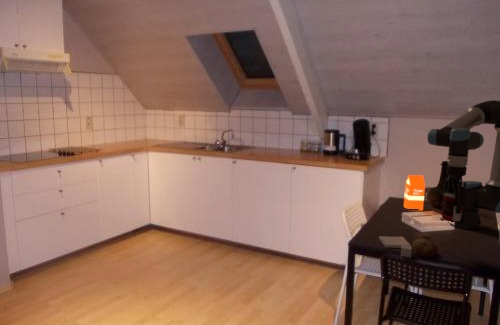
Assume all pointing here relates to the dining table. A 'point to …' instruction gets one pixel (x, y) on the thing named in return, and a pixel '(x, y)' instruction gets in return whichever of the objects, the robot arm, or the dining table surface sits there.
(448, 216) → the canned food
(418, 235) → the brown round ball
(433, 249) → the bread roll
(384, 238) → the plate
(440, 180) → the glass bottle
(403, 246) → the grey block
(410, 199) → the orange juice
